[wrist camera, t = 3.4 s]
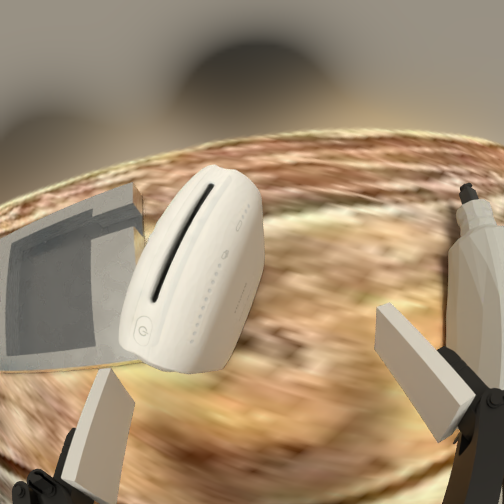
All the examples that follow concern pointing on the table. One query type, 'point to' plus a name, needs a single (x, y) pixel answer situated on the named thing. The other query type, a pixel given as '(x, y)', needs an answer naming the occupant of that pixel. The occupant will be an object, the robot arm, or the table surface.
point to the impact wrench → (477, 290)
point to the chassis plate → (70, 285)
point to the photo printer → (197, 275)
